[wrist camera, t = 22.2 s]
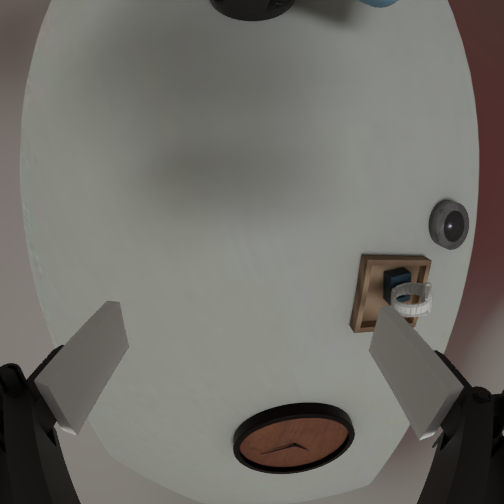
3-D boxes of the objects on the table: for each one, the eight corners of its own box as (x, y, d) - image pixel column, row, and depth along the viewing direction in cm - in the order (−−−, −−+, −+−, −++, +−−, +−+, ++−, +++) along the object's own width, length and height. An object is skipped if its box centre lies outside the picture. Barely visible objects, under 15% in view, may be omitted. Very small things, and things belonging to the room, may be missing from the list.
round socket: (435, 194, 42) (444, 196, 39) (463, 207, 42) (473, 210, 39) (423, 240, 44) (432, 244, 41) (453, 249, 45) (462, 253, 42)
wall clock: (373, 409, 52) (332, 470, 60) (368, 398, 56) (330, 461, 64) (238, 411, 50) (229, 472, 59) (239, 398, 54) (230, 462, 63)
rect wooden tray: (361, 254, 45) (367, 259, 42) (423, 255, 45) (431, 260, 42) (349, 325, 49) (354, 332, 46) (408, 320, 49) (414, 326, 46)
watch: (410, 291, 46) (440, 317, 36) (374, 300, 47) (401, 330, 36) (411, 264, 45) (444, 286, 34) (375, 272, 45) (404, 298, 35)
